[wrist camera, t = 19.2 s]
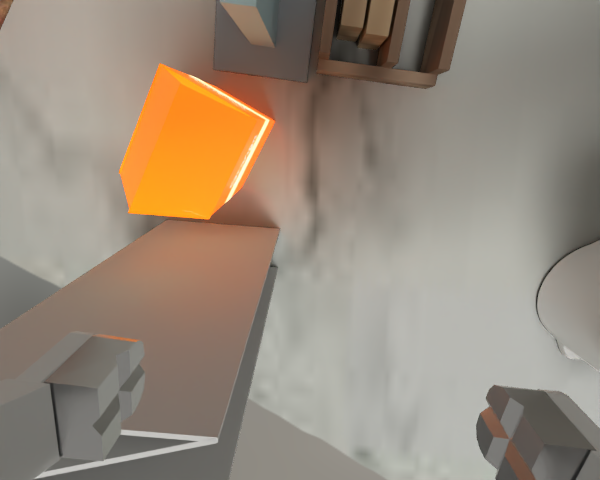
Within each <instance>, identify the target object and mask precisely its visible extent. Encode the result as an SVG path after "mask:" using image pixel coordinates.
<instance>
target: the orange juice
mask: <svg viewBox="0 0 600 480" xmlns="http://www.w3.org/2000/svg"><path fill="white" fill-rule="evenodd" d="M274 123H275V121H274V120H273V119H271V118H269V117H268V116H266V115H264V114H262V113H261V112H259V111H257V110H256V109H254V108H252V107H250V106H249V105H247V104H245V103H244V102H242V101H240V100H238V99H237V98H235V97H233V96H232V95H230V94H228V93H226V92H225V91H223V90H221V89H220V88H218V87H216V86H214V85H212V84H209V83H207V82H204V81H202V80H200V79H198V78H196V77H194V76H191V75H187V74H185V73H182V72H180V71H178V70H175V69H173V68H170V67H168V66H165V65H163V64H161V63H160V64H159V67H158V70H157V72H156V75H155V77H154V80H153V83H152V85H151V88H150V91H149V93H148V96H147V99H146V101H145V104H144V107H143V109H142V112H141V115H140V117H139V120H138V123H137V125H136V128H135V131H134V133H133V136H132V139H131V141H130V144H129V147H128V149H127V152H126V155H125V157H124V160H123V162H122V165H121V168H120V170H119V173H120V174H121V178H122V182H123V186H124V190H125V194H126V197H127V201H128V205H129V212H128V213H134V214H147V215H160V216H172V217H185V218H198V219H210V217H211V215H212V214H213V213H214V212H215V211H217V210H218V209H219V208H220V207H221V206H222V205H223V204H225V203H226V202H227V201H228V200H230V199H231V197H232V196H233V195H234V194H235V193H237V192H238V191H239V190H240V189H241V188H242V186H243V184H244V182H245V180H246V178H247V176H248V174H249V172H250V170H251V168H252V166H253V165H254V163H255V161H256V159H257V157H258V155H259V153H260V151H261V149H262V147H263V145H264V143H265V141H266V139H267V137H268V135H269V133H270V131H271V129H272V127H273V125H274Z"/></svg>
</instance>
